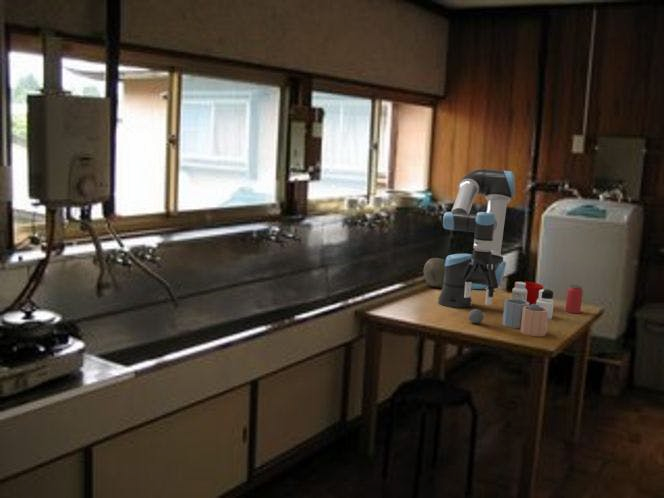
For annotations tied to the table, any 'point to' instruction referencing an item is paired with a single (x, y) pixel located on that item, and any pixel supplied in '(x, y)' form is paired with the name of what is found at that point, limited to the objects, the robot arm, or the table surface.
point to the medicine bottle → (546, 301)
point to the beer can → (574, 299)
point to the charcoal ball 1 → (476, 316)
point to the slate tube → (513, 312)
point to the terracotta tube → (534, 322)
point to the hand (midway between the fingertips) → (477, 300)
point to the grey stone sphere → (435, 272)
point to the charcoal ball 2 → (534, 307)
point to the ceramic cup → (532, 292)
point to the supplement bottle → (519, 291)
